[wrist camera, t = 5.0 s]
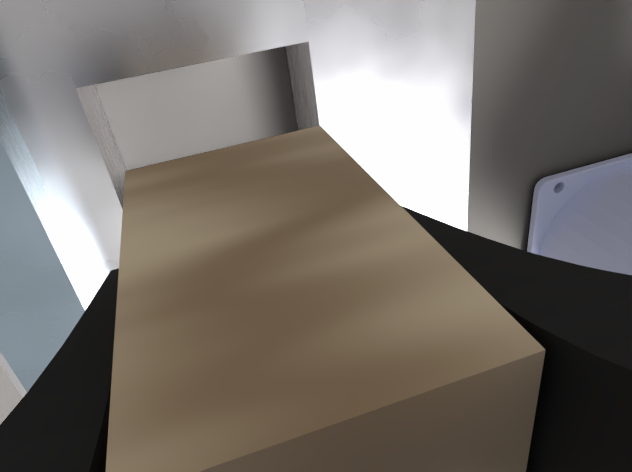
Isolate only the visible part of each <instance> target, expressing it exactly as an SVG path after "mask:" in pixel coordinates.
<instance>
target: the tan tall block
mask: <svg viewBox="0 0 632 472" xmlns="http://www.w3.org/2000/svg"><path fill="white" fill-rule="evenodd" d="M545 351H546V350H545V349H544V348H543V347H542V346H541V345H540V344H539V343H538V342H537V341H536V340H535V339H534V338H533V337H532V336H531V335H530V334H529V333H528V332H527V331H526V330H525V329H524V328H523V327H522V326H521V325H520V324H519V323H518V322H517V321H516V320H515V319H514V318H513V317H512V316H511V315H510V314H509V313H508V312H507V311H506V310H505V309H504V308H503V307H502V306H501V305H500V304H499V303H498V302H497V301H496V300H495V299H494V298H493V297H492V296H491V295H490V294H489V293H488V292H487V291H486V290H485V289H484V288H483V287H482V286H481V285H480V284H479V283H478V282H477V281H476V280H475V279H474V278H473V277H472V276H471V275H470V274H469V273H468V272H467V271H466V270H465V269H464V268H463V267H462V266H461V265H460V264H459V263H458V262H457V261H456V260H455V259H454V258H453V257H452V256H451V255H450V254H449V253H448V252H447V251H446V250H445V249H444V248H443V247H442V246H441V245H440V244H439V243H438V242H437V241H436V240H435V239H434V238H433V237H432V236H431V235H430V234H429V233H428V232H427V231H426V230H425V229H424V228H423V227H422V226H421V225H420V224H419V223H418V222H417V221H416V220H415V219H414V218H413V217H412V216H411V215H410V214H409V213H408V212H407V211H406V210H405V209H404V208H403V207H402V206H401V205H400V204H399V203H398V202H397V201H396V200H395V199H394V198H393V197H392V196H391V195H390V194H389V193H388V192H387V191H386V190H385V189H384V188H383V187H382V186H381V185H380V184H379V183H378V182H377V181H376V180H375V179H374V178H372V177H371V176H370V175H369V174H368V173H367V172H366V171H365V170H364V169H363V168H362V167H361V166H360V165H359V164H358V163H357V162H356V161H355V160H354V159H353V158H352V157H351V156H350V155H349V154H348V153H347V152H346V151H345V150H344V149H343V148H342V147H341V146H340V145H339V144H338V143H337V142H336V141H335V140H334V139H333V138H332V137H331V136H330V135H329V134H328V133H327V132H326V131H325V130H324V129H323V128H322V127H321V126H316V127H312V128H307V129H303V130H299V131H294V132H290V133H286V134H282V135H277V136H273V137H269V138H264V139H260V140H256V141H252V142H247V143H243V144H239V145H235V146H230V147H226V148H222V149H217V150H213V151H209V152H205V153H200V154H196V155H192V156H187V157H183V158H179V159H175V160H170V161H166V162H162V163H158V164H153V165H149V166H145V167H140V168H136V169H132V170H128V171H125V183H124V198H123V213H122V229H121V244H120V259H119V274H118V289H117V305H116V320H115V335H114V350H113V365H112V381H111V396H110V411H109V426H108V441H107V457H106V472H526V468H527V462H528V456H529V450H530V443H531V437H532V431H533V425H534V419H535V413H536V406H537V400H538V394H539V388H540V382H541V376H542V370H543V363H544V357H545Z"/></svg>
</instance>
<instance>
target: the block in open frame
mask: <svg viewBox="0 0 632 472" xmlns="http://www.w3.org/2000/svg"><path fill="white" fill-rule="evenodd" d="M475 5H476V0H0V365H1V366H2V368H3V369H4V371H5V372H6V374H7V375H8V377H9V378H10V380H11V381H12V383H13V384H14V386H15V387H16V389H17V390H18V392H19V393H20V395H21V396H22V398H23V397H24V396H25V395H26V394H27V392H28V391H29V390H30V388H31V387H32V386H33V384H34V383H35V382H36V380H37V379H38V377H39V376H40V375H41V373H42V372H43V371H44V369H45V368H46V367H47V365H48V364H49V363H50V361H51V360H52V359H53V357H54V356H55V355H56V353H57V352H58V351H59V349H60V348H61V347H62V345H63V344H64V342H65V341H66V339H67V338H68V336H69V335H70V333H71V332H72V330H73V329H74V327H75V326H76V324H77V323H78V321H79V320H80V318H81V316H82V315H83V313H84V312H85V310H86V309H87V307H88V305H89V304H90V302H91V301H92V299H93V297H94V296H95V294H96V293H97V291H98V290H99V288H100V286H101V285H102V283H103V282H104V280H105V279H106V277H107V276H108V274H109V273H110V271H111V270H114V269H118V268H119V259H120V244H121V229H122V213H123V198H124V183H125V171H126V170H125V168H124V165H123V162H122V160H121V157H120V154H119V151H118V149H117V146H116V143H115V141H114V138H113V135H112V132H111V130H110V127H109V124H108V121H107V119H106V116H105V113H104V111H103V108H102V105H101V102H100V100H99V97H98V94H97V91H96V89H95V86H94V84H99V83H104V82H109V81H114V80H119V79H124V78H129V77H134V76H139V75H144V74H149V73H154V72H159V71H164V70H169V69H174V68H179V67H184V66H189V65H194V64H199V63H204V62H209V61H214V60H219V59H224V58H229V57H234V56H239V55H244V54H249V53H254V52H259V51H264V50H269V49H273V48H278V47H283V46H285V48H286V55H287V61H288V67H289V74H290V80H291V87H292V93H293V99H294V106H295V112H296V119H297V125H298V131H299V130H303V129H307V128H312V127H316V126H321V127H322V128H323V129H324V130H325V131H326V132H327V133H328V134H329V135H330V136H331V137H332V138H333V139H334V140H335V141H336V142H337V143H338V144H339V145H340V146H341V147H342V148H343V149H344V150H345V151H346V152H347V153H348V154H349V155H350V156H351V157H352V158H353V159H354V160H355V161H356V162H357V163H358V164H359V165H360V166H361V167H362V168H363V169H364V170H365V171H366V172H367V173H368V174H369V175H370V176H371V177H372V178H374V179H375V180H376V181H377V182H378V183H379V184H380V185H381V186H382V187H383V188H384V189H385V190H386V191H387V192H388V193H389V194H390V195H391V196H392V197H393V198H394V199H395V200H396V201H397V202H398V203H399V204H400V205H402V206H404V207H407V208H409V209H412V210H414V211H417V212H419V213H422V214H424V215H427V216H429V217H431V218H434V219H436V220H439V221H441V222H444V223H446V224H449V225H452V226H454V227H457V228H459V229H462V230H465V231H467V218H468V191H469V165H470V138H471V112H472V85H473V58H474V32H475Z"/></svg>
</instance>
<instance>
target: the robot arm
mask: <svg viewBox="0 0 632 472" xmlns="http://www.w3.org/2000/svg"><path fill="white" fill-rule="evenodd" d="M556 184H557V186H556ZM555 186H556V187H555ZM554 187H555V188H554ZM401 206H402V205H401ZM402 207H403V208H404V209H405V210H406V211H407V212H408V213H409V214H410V215H411V216H412V217H413V218H414V219H415V220H416V221H417V222H418V223H419V224H420V225H421V226H422V227H423V228H424V229H425V230H426V231H427V232H428V233H429V234H430V235H431V236H432V237H433V238H434V239H435V240H436V241H437V242H438V243H439V244H440V245H441V246H442V247H443V248H444V249H445V250H446V251H447V252H448V253H449V254H450V255H451V256H452V257H453V258H454V259H455V260H456V261H457V262H458V263H459V264H460V265H461V266H462V267H463V268H464V269H465V270H466V271H467V272H468V273H469V274H470V275H471V276H472V277H473V278H474V279H475V280H476V281H477V282H478V283H479V284H480V285H481V286H482V287H483V288H484V289H485V290H486V291H487V292H488V293H489V294H490V295H491V296H492V297H493V298H494V299H495V300H496V301H497V302H498V303H499V304H500V305H501V306H502V307H503V308H504V309H505V310H506V311H507V312H508V313H509V314H510V315H511V316H512V317H513V318H514V319H515V320H516V321H517V322H518V323H519V324H520V325H521V326H522V327H523V328H524V329H525V330H526V331H527V332H528V333H529V334H530V335H531V336H532V337H533V338H534V339H535V340H536V341H537V342H538V343H539V344H540V345H541V346H542V347H543V348H544V349H545V350H546V351H545V357H544V363H543V370H542V376H541V382H540V388H539V394H538V400H537V406H536V413H535V419H534V425H533V431H532V437H531V443H530V450H529V456H528V462H527V468H526V472H632V153H630V154H627V155H623V156H619V157H616V158H612V159H609V160H605V161H601V162H598V163H594V164H591V165H587V166H583V167H580V168H576V169H573V170H569V171H565V172H562V173H558V174H555V175H551V176H547V177H544V178H542V179H541V180H540V181H538V182H537V184H536V185H535V188H534V195H533V203H532V212H531V220H530V229H529V238H528V246H527V251H524V250H520V249H517V248H514V247H511V246H508V245H505V244H502V243H499V242H496V241H493V240H490V239H487V238H484V237H481V236H478V235H475V234H473V233H470V232H467V231H465V230H462V229H459V228H457V227H454V226H452V225H449V224H446V223H444V222H441V221H439V220H436V219H434V218H431V217H429V216H427V215H424V214H422V213H419V212H417V211H414V210H412V209H409V208H407V207H404V206H402ZM118 274H119V268H118V269H114V270H111V271H110V273H109V274H108V276H107V277H106V279H105V280H104V282H103V283H102V285H101V286H100V288H99V290H98V291H97V293H96V294H95V296H94V297H93V299H92V301H91V302H90V304H89V305H88V307H87V309H86V310H85V312H84V313H83V315H82V316H81V318H80V320H79V321H78V323H77V324H76V326H75V327H74V329H73V330H72V332H71V333H70V335H69V336H68V338H67V339H66V341H65V342H64V344H63V345H62V347H61V348H60V349H59V351H58V352H57V353H56V355H55V356H54V357H53V359H52V360H51V361H50V363H49V364H48V365H47V367H46V368H45V369H44V371H43V372H42V373H41V375H40V376H39V377H38V379H37V380H36V382H35V383H34V384H33V386H32V387H31V388H30V390H29V391H28V392H27V394H26V395H25V396H24V397H23V398H22V400H21V401H20V402H19V403H18V405H17V406H16V407H15V408H14V409H13V411H12V412H11V413H10V414H9V415H8V417H7V418H6V419H5V420H4V421H3V422H2V424H1V425H0V472H106V457H107V441H108V426H109V411H110V396H111V381H112V365H113V350H114V335H115V320H116V305H117V289H118Z"/></svg>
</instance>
